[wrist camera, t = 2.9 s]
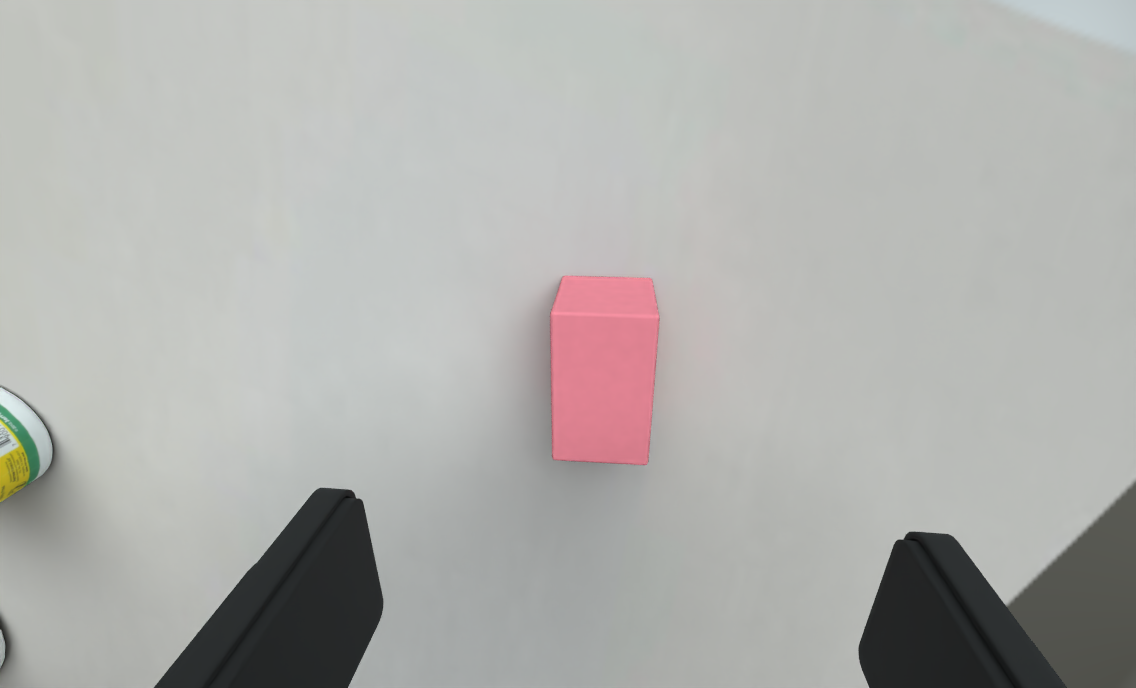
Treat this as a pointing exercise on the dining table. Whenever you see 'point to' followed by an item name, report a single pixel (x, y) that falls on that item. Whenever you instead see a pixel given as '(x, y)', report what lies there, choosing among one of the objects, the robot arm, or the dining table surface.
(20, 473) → the supplement bottle
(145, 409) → the dining table surface
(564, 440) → the eraser
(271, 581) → the robot arm
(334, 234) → the dining table surface
